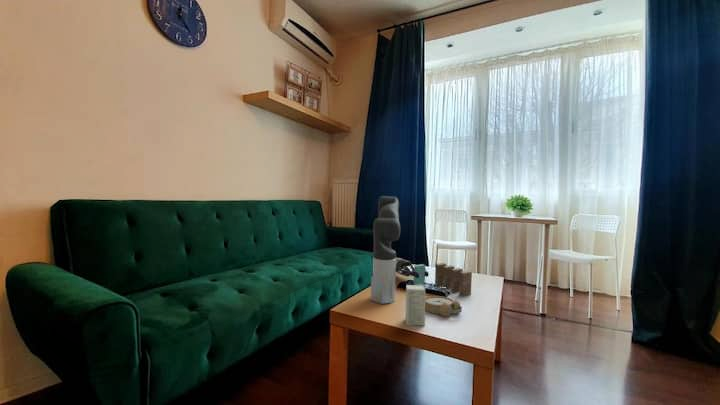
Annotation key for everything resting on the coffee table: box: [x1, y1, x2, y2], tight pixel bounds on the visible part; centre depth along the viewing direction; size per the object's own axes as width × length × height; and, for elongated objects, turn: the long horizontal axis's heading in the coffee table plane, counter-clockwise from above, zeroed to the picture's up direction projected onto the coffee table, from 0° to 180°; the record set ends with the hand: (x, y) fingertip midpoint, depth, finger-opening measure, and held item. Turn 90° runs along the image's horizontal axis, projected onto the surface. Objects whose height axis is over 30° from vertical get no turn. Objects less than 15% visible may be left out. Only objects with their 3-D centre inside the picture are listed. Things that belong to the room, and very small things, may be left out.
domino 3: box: [450, 267, 464, 293], centre depth 128 cm, size 2×5×10 cm, turn 118°
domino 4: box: [458, 270, 473, 297], centre depth 123 cm, size 2×5×10 cm, turn 118°
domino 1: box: [434, 262, 447, 286], centre depth 137 cm, size 2×5×10 cm, turn 118°
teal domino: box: [413, 264, 426, 285], centre depth 133 cm, size 2×5×10 cm, turn 118°
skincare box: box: [405, 284, 426, 326], centre depth 95 cm, size 6×4×12 cm
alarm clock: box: [425, 295, 463, 318], centre depth 106 cm, size 11×5×15 cm
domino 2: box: [442, 264, 455, 289], centre depth 132 cm, size 2×5×10 cm, turn 118°
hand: (423, 275), depth 131 cm, fingers closed on teal domino, 5 cm apart
